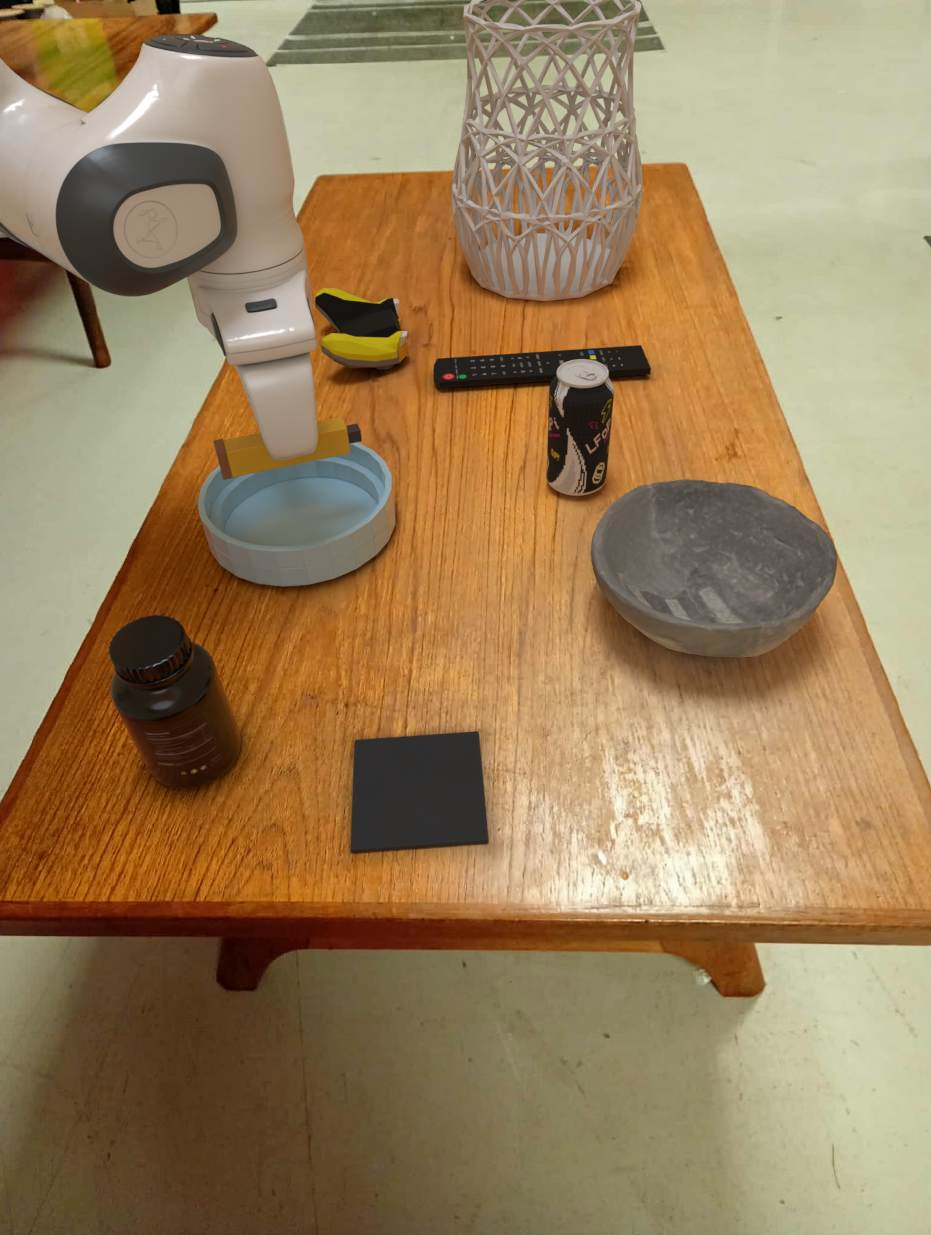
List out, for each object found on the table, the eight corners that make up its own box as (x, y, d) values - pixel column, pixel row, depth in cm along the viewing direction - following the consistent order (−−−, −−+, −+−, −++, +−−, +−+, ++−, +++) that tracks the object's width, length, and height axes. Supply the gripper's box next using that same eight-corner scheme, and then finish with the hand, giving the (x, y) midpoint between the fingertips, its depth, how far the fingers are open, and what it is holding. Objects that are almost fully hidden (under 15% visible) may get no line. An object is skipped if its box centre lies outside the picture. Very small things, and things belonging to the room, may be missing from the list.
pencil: (223, 480, 75) (216, 453, 73) (220, 467, 77) (213, 440, 75) (364, 451, 78) (360, 424, 76) (358, 438, 79) (355, 412, 77)
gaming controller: (327, 388, 100) (415, 377, 101) (320, 343, 96) (411, 332, 97) (318, 327, 111) (398, 318, 112) (311, 284, 107) (394, 275, 108)
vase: (632, 233, 128) (656, -20, 107) (637, 310, 111) (666, 27, 90) (465, 232, 130) (456, -15, 109) (445, 308, 113) (430, 32, 92)
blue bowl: (196, 597, 76) (182, 557, 73) (223, 479, 88) (212, 440, 85) (396, 583, 76) (391, 543, 73) (395, 467, 89) (391, 429, 86)
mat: (351, 853, 58) (350, 850, 58) (355, 743, 64) (354, 739, 64) (488, 843, 58) (488, 839, 58) (478, 734, 65) (478, 730, 64)
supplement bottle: (142, 733, 66) (87, 618, 57) (234, 705, 67) (194, 590, 59) (153, 806, 61) (95, 693, 53) (251, 775, 63) (210, 660, 54)
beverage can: (580, 509, 83) (588, 395, 74) (533, 485, 86) (536, 373, 77) (617, 481, 86) (629, 369, 77) (571, 459, 89) (577, 348, 80)
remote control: (649, 379, 99) (650, 368, 98) (434, 393, 98) (434, 382, 98) (639, 356, 103) (641, 345, 102) (433, 369, 102) (432, 358, 101)
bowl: (548, 581, 76) (551, 507, 70) (720, 524, 81) (736, 449, 75) (664, 732, 64) (678, 656, 58) (858, 654, 69) (889, 577, 63)
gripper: (193, 243, 73) (229, 392, 83) (227, 356, 59) (266, 521, 69) (269, 231, 74) (296, 380, 84) (320, 340, 60) (345, 503, 70)
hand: (283, 444), depth 76 cm, fingers closed on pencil, 2 cm apart
